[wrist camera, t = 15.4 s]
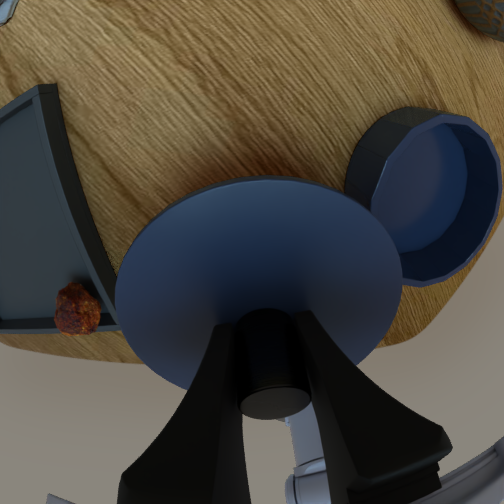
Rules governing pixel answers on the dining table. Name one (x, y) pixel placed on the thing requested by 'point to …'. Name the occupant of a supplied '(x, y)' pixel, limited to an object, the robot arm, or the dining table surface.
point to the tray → (45, 220)
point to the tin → (428, 188)
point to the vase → (485, 16)
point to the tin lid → (257, 284)
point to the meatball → (76, 311)
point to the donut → (6, 9)
